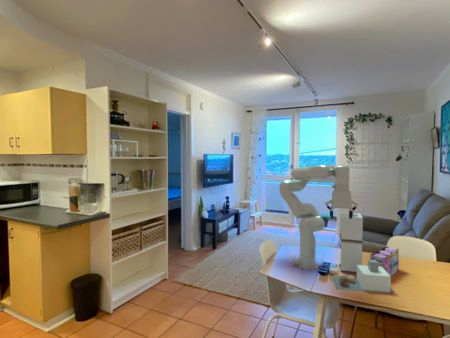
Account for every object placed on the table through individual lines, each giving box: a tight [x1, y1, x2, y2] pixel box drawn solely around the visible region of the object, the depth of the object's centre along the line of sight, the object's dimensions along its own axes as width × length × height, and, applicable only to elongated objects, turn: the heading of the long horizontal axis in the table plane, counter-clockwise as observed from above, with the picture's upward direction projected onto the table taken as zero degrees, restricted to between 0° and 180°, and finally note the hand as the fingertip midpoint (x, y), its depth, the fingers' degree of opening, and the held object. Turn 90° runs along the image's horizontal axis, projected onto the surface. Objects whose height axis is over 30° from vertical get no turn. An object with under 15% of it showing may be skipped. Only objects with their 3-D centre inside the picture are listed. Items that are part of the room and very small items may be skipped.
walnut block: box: [339, 275, 349, 287], centre depth 150 cm, size 4×4×4 cm
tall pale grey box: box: [338, 212, 364, 275], centre depth 169 cm, size 11×11×35 cm
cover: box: [355, 259, 392, 292], centre depth 149 cm, size 13×13×13 cm
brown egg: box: [346, 274, 356, 283], centre depth 154 cm, size 4×4×3 cm
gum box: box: [369, 246, 400, 277], centre depth 166 cm, size 24×8×14 cm, turn 129°
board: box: [331, 275, 395, 295], centre depth 150 cm, size 28×16×1 cm, turn 79°
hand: (341, 218), depth 155 cm, fingers open, 9 cm apart
